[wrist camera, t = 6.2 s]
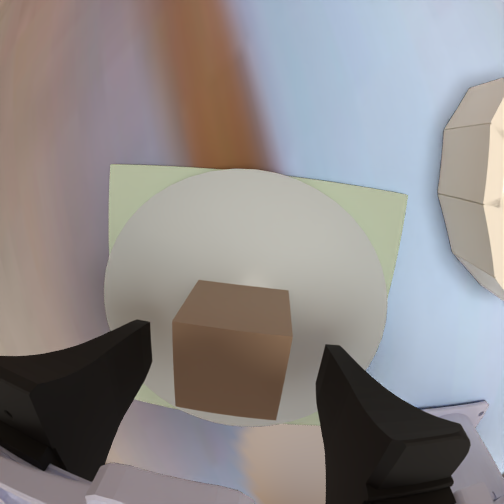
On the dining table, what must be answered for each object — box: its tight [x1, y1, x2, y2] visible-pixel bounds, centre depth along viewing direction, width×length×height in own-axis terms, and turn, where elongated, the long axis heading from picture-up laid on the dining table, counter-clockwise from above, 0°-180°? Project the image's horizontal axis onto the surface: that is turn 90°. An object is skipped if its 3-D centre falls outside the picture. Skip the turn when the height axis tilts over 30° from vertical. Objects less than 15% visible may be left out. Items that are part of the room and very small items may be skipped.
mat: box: [109, 164, 408, 425], centre depth 15 cm, size 14×14×1 cm
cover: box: [104, 169, 387, 427], centre depth 13 cm, size 14×14×5 cm
